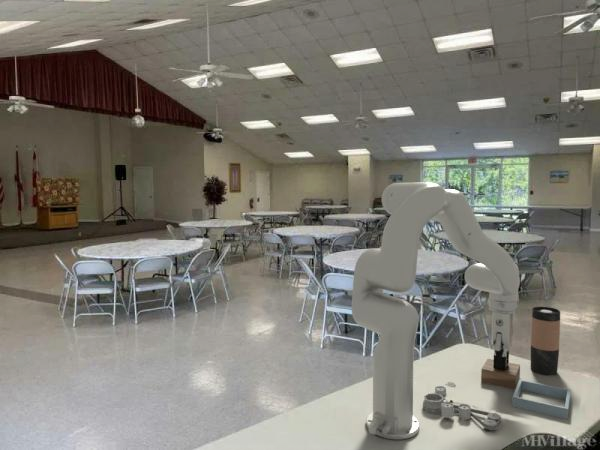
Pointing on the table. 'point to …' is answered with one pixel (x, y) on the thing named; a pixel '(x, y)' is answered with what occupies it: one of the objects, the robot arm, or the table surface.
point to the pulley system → (438, 406)
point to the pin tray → (541, 406)
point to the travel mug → (545, 340)
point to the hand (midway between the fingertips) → (501, 365)
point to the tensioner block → (500, 375)
